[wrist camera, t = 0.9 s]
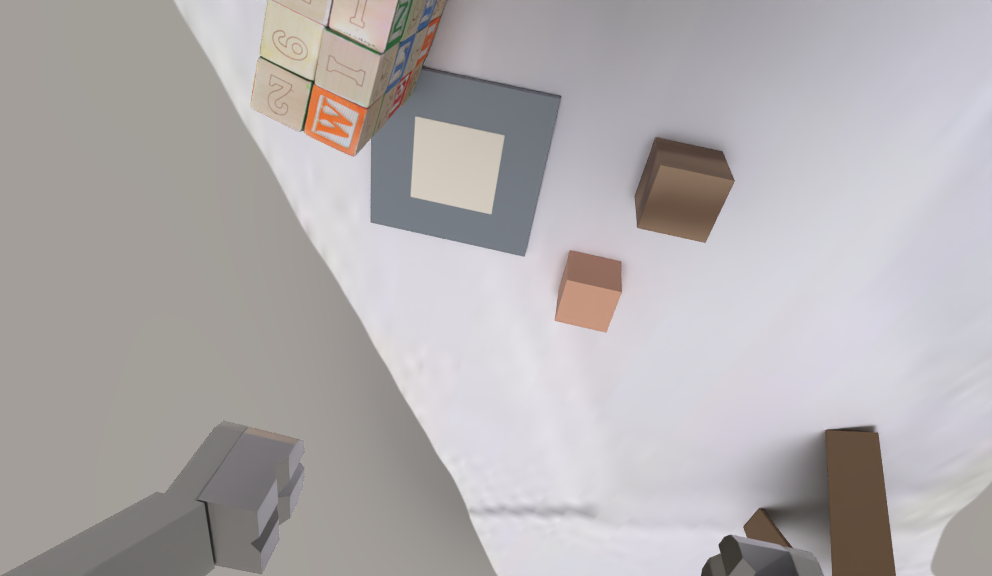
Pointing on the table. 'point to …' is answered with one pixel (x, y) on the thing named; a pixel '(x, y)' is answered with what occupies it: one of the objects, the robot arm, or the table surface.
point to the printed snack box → (341, 64)
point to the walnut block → (682, 190)
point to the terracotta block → (589, 291)
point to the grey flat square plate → (463, 161)
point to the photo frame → (849, 508)
